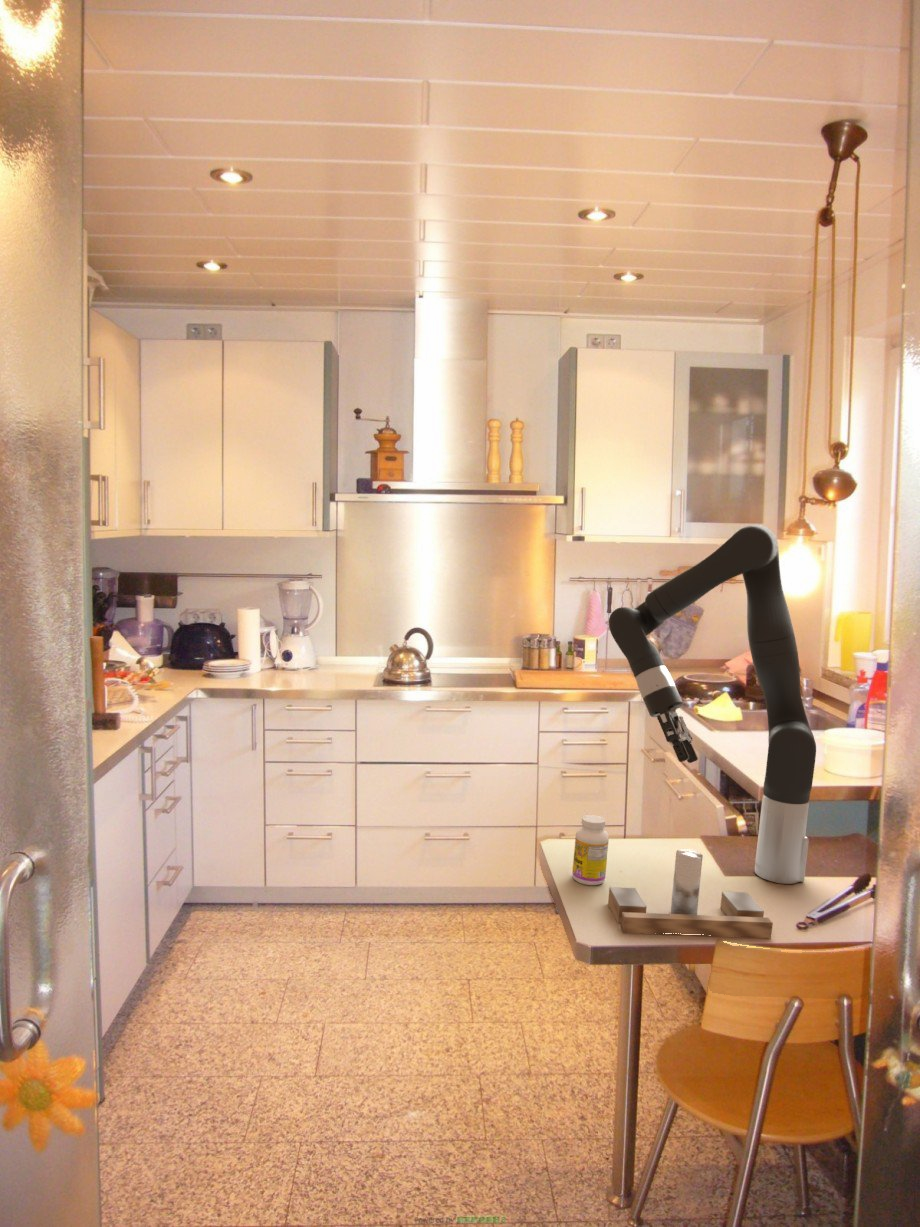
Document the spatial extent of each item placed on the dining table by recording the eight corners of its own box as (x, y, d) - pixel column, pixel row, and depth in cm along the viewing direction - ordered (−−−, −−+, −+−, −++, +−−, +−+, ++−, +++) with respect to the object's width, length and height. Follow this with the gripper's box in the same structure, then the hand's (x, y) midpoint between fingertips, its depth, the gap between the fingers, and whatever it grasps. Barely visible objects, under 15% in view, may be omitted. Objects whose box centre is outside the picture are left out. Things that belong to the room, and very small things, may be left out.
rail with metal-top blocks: (745, 908, 173) (747, 892, 173) (770, 938, 161) (772, 920, 161) (608, 903, 171) (609, 887, 171) (623, 933, 159) (625, 915, 159)
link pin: (691, 910, 171) (697, 849, 170) (700, 921, 166) (706, 859, 165) (667, 909, 171) (672, 848, 169) (674, 920, 166) (680, 858, 165)
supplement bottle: (569, 872, 185) (574, 812, 184) (600, 873, 186) (605, 813, 184) (575, 886, 179) (581, 823, 177) (608, 887, 179) (614, 825, 178)
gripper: (666, 680, 187) (698, 753, 182) (681, 687, 200) (712, 755, 195) (634, 695, 190) (665, 767, 185) (651, 700, 203) (680, 768, 197)
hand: (689, 761), depth 190 cm, fingers open, 8 cm apart
